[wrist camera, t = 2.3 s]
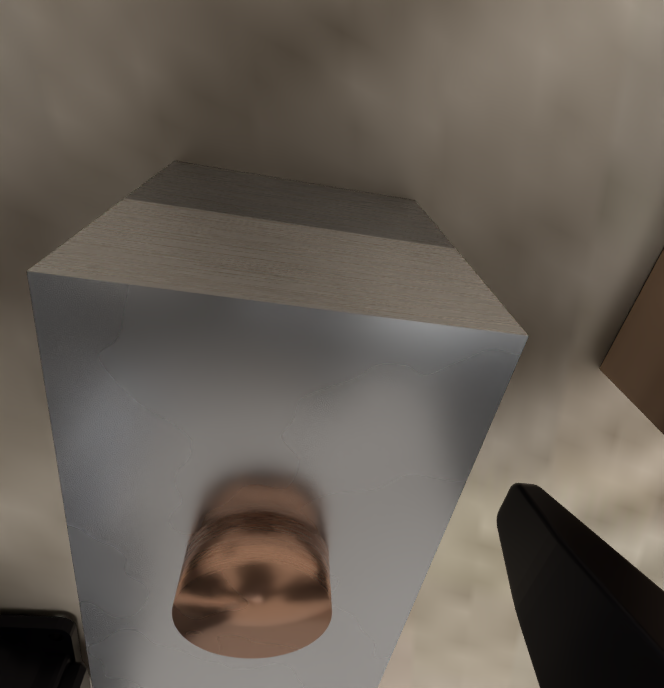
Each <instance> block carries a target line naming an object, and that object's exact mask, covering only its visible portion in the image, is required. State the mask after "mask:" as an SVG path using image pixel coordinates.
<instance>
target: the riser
mask: <svg viewBox="0 0 664 688" xmlns="http://www.w3.org/2000/svg"><path fill="white" fill-rule="evenodd" d="M600 370H601V371H602V372H603V373H604V374H605V375H606V376H607V377H608V378H609V379H610V380H611V381H612V382H613V383H614V384H615V385H616V386H617V387H618V388H619V389H620V390H621V391H622V392H623V393H624V394H625V395H626V396H627V397H628V399H629V400H630V401H631V402H632V403H633V404H634V405H635V406H636V407H637V408H638V409H639V410H640V411H641V412H642V413H643V414H644V415H645V416H646V417H647V418H648V419H649V420H650V421H651V422H652V423H653V424H654V425H655V426H656V427H657V428H658V429H659V430H660V431H661V432H662V433H663V434H664V249H663V251H662V253H661V255H660V257H659V259H658V260H657V262H656V264H655V266H654V268H653V270H652V272H651V274H650V275H649V277H648V279H647V281H646V283H645V285H644V287H643V288H642V290H641V292H640V294H639V296H638V298H637V300H636V302H635V303H634V305H633V307H632V309H631V311H630V313H629V315H628V316H627V318H626V320H625V322H624V324H623V326H622V328H621V330H620V331H619V333H618V335H617V337H616V339H615V341H614V343H613V344H612V346H611V348H610V350H609V352H608V354H607V356H606V357H605V359H604V361H603V363H602V365H601V367H600Z"/></svg>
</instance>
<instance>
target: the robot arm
mask: <svg viewBox="0 0 664 688" xmlns="http://www.w3.org/2000/svg"><path fill="white" fill-rule="evenodd" d="M497 528H498V533H499V538H500V542H501V547H502V552H503V556H504V561H505V565H506V570H507V575H508V579H509V584H510V589H511V593H512V598H513V602H514V606H515V610H516V613H517V617H518V620H519V623H520V627H521V630H522V633H523V636H524V639H525V642H526V645H527V648H528V652H529V655H530V658H531V661H532V664H533V667H534V670H535V673H536V677H537V680H538V683H539V686H540V688H664V591H663V590H662V589H661V588H659V587H658V586H657V585H656V584H655V583H653V582H652V581H651V580H650V579H649V578H648V577H646V576H645V575H644V574H643V573H642V572H640V571H639V570H638V569H637V568H636V567H634V566H633V565H632V564H631V563H630V562H629V561H627V560H626V559H625V558H624V557H623V556H621V555H620V554H619V553H618V552H617V551H615V550H614V549H613V548H612V547H611V546H610V545H608V544H607V543H606V542H605V541H604V540H602V539H601V538H600V537H599V536H598V535H596V534H595V533H594V532H593V531H592V530H591V529H589V528H588V527H587V526H586V525H585V524H583V523H582V522H581V521H580V520H579V519H577V518H576V517H575V516H574V515H573V514H571V513H570V512H569V511H568V510H567V509H566V508H564V507H563V506H562V505H561V504H560V503H558V502H557V501H556V500H555V499H554V498H552V497H551V496H550V495H549V494H548V493H547V492H545V491H544V490H543V489H542V488H540V487H539V486H537V485H534V484H526V483H515V484H513V485H512V486H511V488H510V489H509V491H508V493H507V495H506V497H505V499H504V501H503V503H502V505H501V507H500V509H499V512H498V515H497ZM0 688H91V687H90V681H89V675H88V669H87V667H86V666H85V664H84V662H82V657H81V651H80V646H79V640H78V634H77V628H76V625H75V623H74V622H73V621H72V620H70V619H67V618H62V617H45V616H20V615H0Z"/></svg>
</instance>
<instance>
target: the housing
mask: <svg viewBox="0 0 664 688" xmlns="http://www.w3.org/2000/svg"><path fill="white" fill-rule="evenodd" d="M27 276H28V282H29V289H30V295H31V301H32V308H33V314H34V320H35V327H36V333H37V339H38V346H39V352H40V358H41V364H42V371H43V377H44V383H45V390H46V396H47V402H48V409H49V415H50V421H51V428H52V434H53V440H54V447H55V453H56V459H57V465H58V472H59V478H60V484H61V491H62V497H63V503H64V510H65V516H66V522H67V529H68V535H69V541H70V548H71V554H72V560H73V566H74V573H75V579H76V585H77V592H78V598H79V604H80V611H81V617H82V623H83V630H84V636H85V642H86V649H87V655H88V661H89V668H90V674H91V680H92V686H93V688H378V685H379V683H380V681H381V678H382V676H383V674H384V671H385V669H386V667H387V664H388V662H389V660H390V657H391V655H392V653H393V650H394V648H395V646H396V644H397V641H398V639H399V637H400V634H401V632H402V630H403V627H404V625H405V623H406V620H407V618H408V616H409V613H410V611H411V609H412V606H413V604H414V602H415V599H416V597H417V595H418V592H419V590H420V588H421V585H422V583H423V581H424V578H425V576H426V574H427V571H428V569H429V567H430V564H431V562H432V560H433V558H434V555H435V553H436V551H437V548H438V546H439V544H440V541H441V539H442V537H443V534H444V532H445V530H446V527H447V525H448V523H449V520H450V518H451V516H452V513H453V511H454V509H455V506H456V504H457V502H458V499H459V497H460V495H461V492H462V490H463V488H464V485H465V483H466V481H467V478H468V476H469V474H470V472H471V469H472V467H473V465H474V462H475V460H476V458H477V455H478V453H479V451H480V448H481V446H482V444H483V441H484V439H485V437H486V434H487V432H488V430H489V427H490V425H491V423H492V420H493V418H494V416H495V413H496V411H497V409H498V406H499V404H500V402H501V399H502V397H503V395H504V392H505V390H506V388H507V385H508V383H509V381H510V379H511V376H512V374H513V372H514V369H515V367H516V365H517V362H518V360H519V358H520V355H521V353H522V351H523V348H524V346H525V344H526V341H527V339H528V337H529V336H528V335H527V333H526V332H525V331H524V330H523V329H522V327H521V326H520V325H519V324H518V323H517V321H516V320H515V319H514V318H513V317H512V315H511V314H510V313H509V312H508V311H507V310H506V308H505V307H504V306H503V305H502V304H501V302H500V301H499V300H498V299H497V298H496V296H495V295H494V294H493V293H492V292H491V290H490V289H489V288H488V287H487V286H486V284H485V283H484V282H483V281H482V280H481V278H480V277H479V276H478V275H477V274H476V272H475V271H474V270H473V269H472V268H471V267H470V265H469V264H468V263H467V262H466V261H465V259H464V258H463V257H462V256H461V255H460V253H459V252H458V251H457V250H456V249H455V247H454V246H453V245H452V244H451V243H450V241H449V240H448V239H447V238H446V237H445V235H444V234H443V233H442V232H441V231H440V229H439V228H438V227H437V226H436V225H435V223H434V222H433V221H432V220H431V219H430V218H429V216H428V215H427V214H426V213H425V212H424V210H423V209H422V208H421V207H420V206H419V204H418V203H417V202H416V201H415V200H410V199H404V198H398V197H392V196H385V195H379V194H373V193H367V192H361V191H355V190H349V189H343V188H337V187H331V186H324V185H318V184H312V183H306V182H300V181H294V180H288V179H282V178H276V177H270V176H264V175H257V174H251V173H245V172H239V171H233V170H227V169H221V168H215V167H209V166H203V165H197V164H190V163H184V162H178V161H174V162H172V163H171V164H170V165H168V166H167V167H166V168H164V169H163V170H162V171H160V172H159V173H158V174H156V175H155V176H153V177H152V178H151V179H149V180H148V181H147V182H145V183H144V184H143V185H141V186H140V187H139V188H137V189H136V190H135V191H133V192H132V193H131V194H129V195H128V196H127V197H125V198H124V199H123V200H121V201H120V202H119V203H117V204H116V205H115V206H113V207H112V208H111V209H109V210H108V211H107V212H105V213H104V214H103V215H101V216H100V217H99V218H97V219H96V220H94V221H93V222H92V223H90V224H89V225H88V226H86V227H85V228H84V229H82V230H81V231H80V232H78V233H77V234H76V235H74V236H73V237H72V238H70V239H69V240H68V241H66V242H65V243H64V244H62V245H61V246H60V247H58V248H57V249H56V250H54V251H53V252H52V253H50V254H49V255H48V256H46V257H45V258H44V259H42V260H41V261H40V262H38V263H37V264H36V265H34V266H33V267H31V268H30V269H29V270H27Z"/></svg>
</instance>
